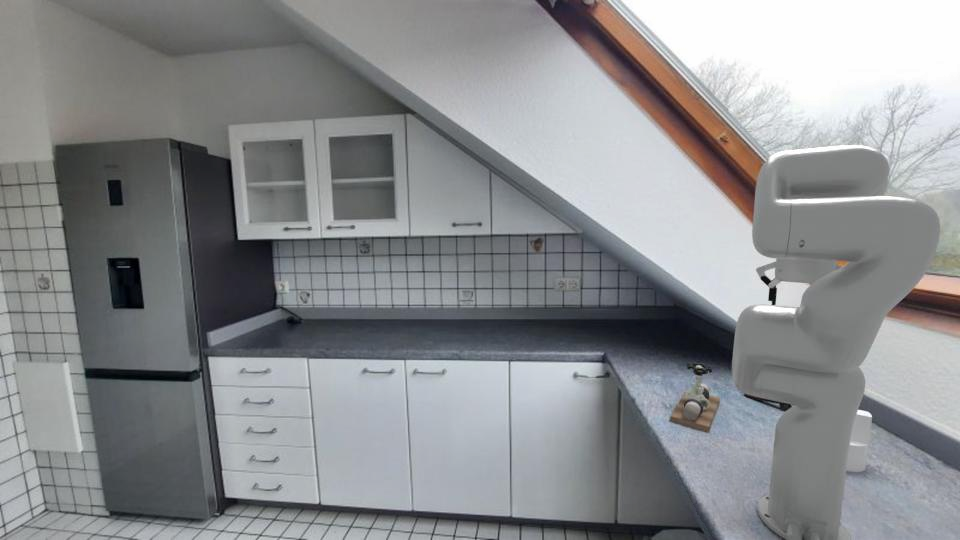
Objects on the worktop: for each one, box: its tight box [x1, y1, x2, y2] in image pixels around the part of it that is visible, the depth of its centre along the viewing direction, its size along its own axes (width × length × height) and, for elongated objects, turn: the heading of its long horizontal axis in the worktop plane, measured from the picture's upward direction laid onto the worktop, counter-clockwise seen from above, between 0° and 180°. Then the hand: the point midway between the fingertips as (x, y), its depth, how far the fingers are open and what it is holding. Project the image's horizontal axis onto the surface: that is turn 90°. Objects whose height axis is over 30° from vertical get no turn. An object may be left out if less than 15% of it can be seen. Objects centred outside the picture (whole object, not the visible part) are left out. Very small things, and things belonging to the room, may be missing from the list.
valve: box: [684, 361, 713, 411], centre depth 107 cm, size 7×7×12 cm
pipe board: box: [669, 382, 721, 433], centre depth 107 cm, size 21×9×6 cm, turn 141°
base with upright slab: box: [846, 409, 873, 473], centre depth 85 cm, size 9×9×12 cm
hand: (800, 307), depth 85 cm, fingers open, 9 cm apart
